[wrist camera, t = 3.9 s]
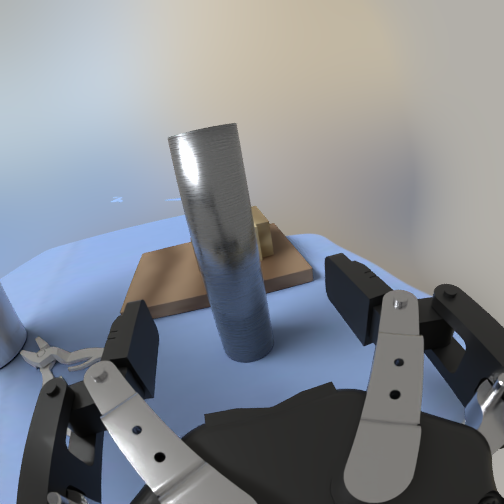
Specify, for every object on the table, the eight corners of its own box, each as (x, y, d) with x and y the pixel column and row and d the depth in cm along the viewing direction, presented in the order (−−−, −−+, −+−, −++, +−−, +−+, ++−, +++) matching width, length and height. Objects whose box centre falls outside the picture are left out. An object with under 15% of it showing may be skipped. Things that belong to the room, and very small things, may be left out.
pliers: (67, 435, 12) (2, 369, 17) (80, 446, 13) (10, 379, 18) (137, 350, 20) (54, 319, 26) (144, 362, 21) (60, 330, 26)
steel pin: (227, 367, 19) (163, 137, 12) (221, 334, 23) (171, 138, 16) (279, 354, 20) (241, 121, 13) (267, 323, 23) (231, 125, 16)
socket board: (125, 324, 26) (104, 279, 24) (145, 262, 39) (134, 228, 37) (313, 280, 28) (309, 231, 26) (275, 232, 41) (269, 197, 39)
